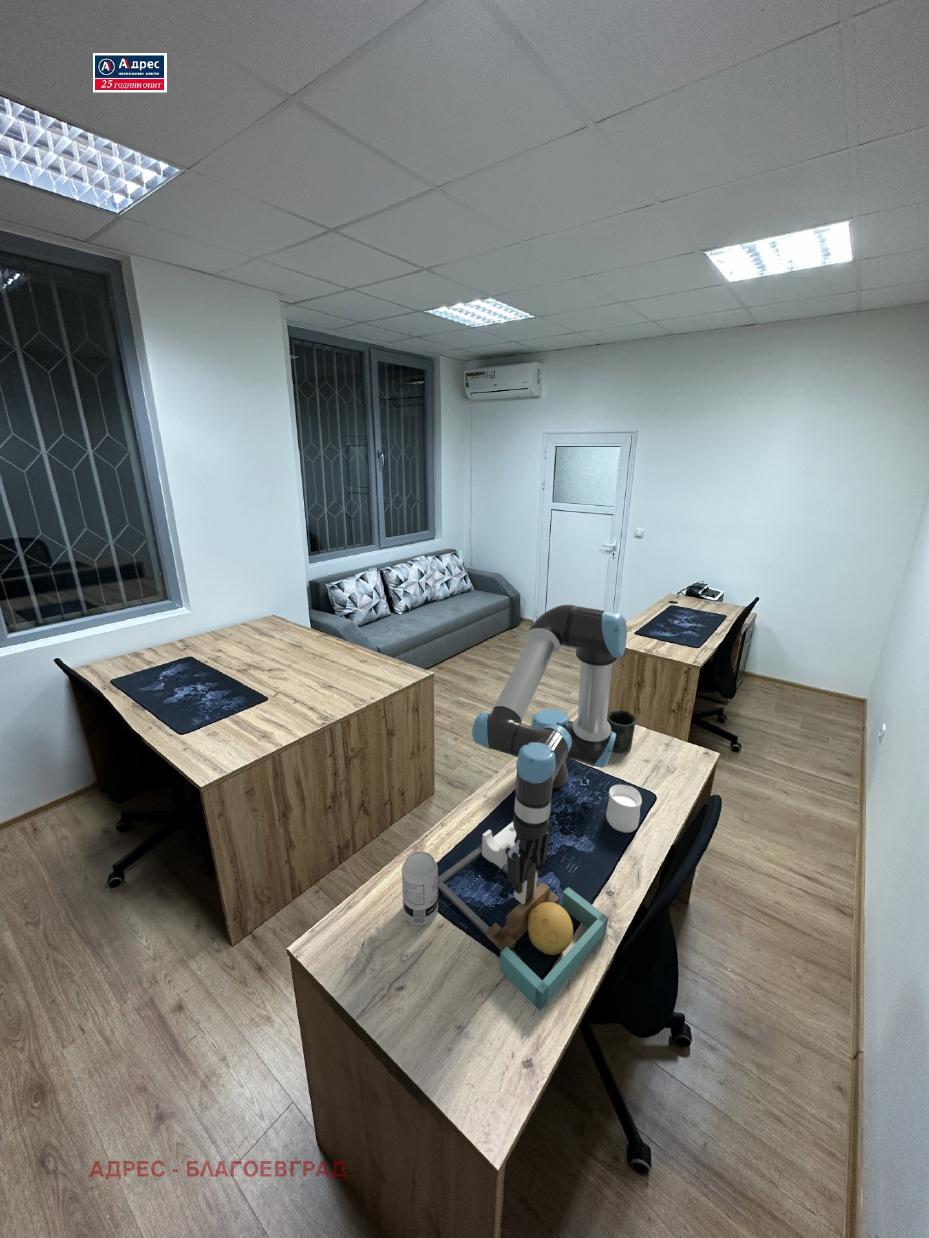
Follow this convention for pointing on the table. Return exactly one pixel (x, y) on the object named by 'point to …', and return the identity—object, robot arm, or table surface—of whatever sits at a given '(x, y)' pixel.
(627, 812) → the cup
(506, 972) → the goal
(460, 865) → the rails
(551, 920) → the stress ball
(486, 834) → the bracket
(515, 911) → the carriage
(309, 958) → the table surface
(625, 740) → the mug
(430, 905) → the supplement can
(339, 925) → the table surface
